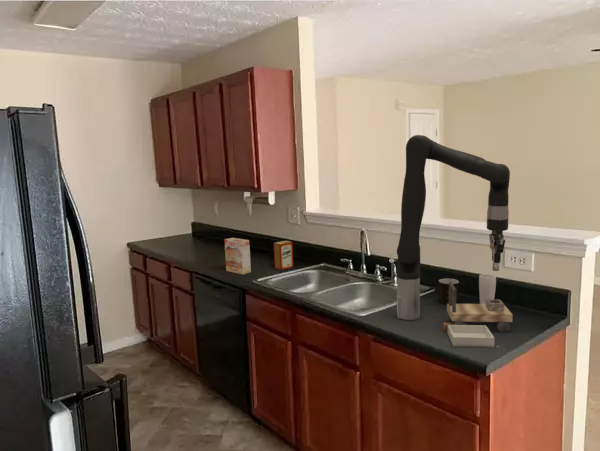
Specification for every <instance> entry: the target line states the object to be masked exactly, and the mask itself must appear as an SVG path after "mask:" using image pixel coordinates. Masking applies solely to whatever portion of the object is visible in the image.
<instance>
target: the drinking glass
mask: <svg viewBox="0 0 600 451" xmlns="http://www.w3.org/2000/svg"><path fill="white" fill-rule="evenodd" d="M478 276H479V277H478V291H479V292H478V293H479V304H486V299H495V296H496V295H495V294H496V286H497V276H496V275H495V274H489V273H482V274H480V275H478Z"/></svg>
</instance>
